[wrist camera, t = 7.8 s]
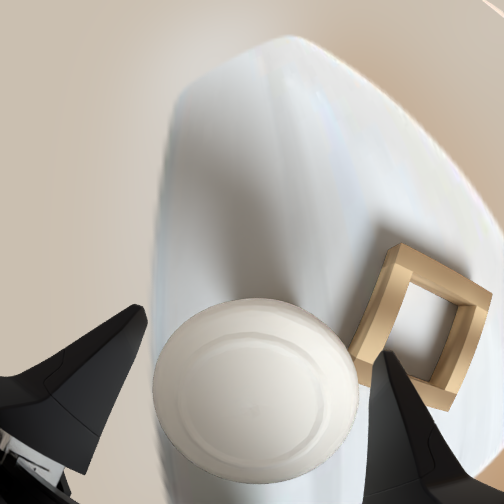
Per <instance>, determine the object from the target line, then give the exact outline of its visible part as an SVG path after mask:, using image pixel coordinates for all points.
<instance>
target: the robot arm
mask: <svg viewBox="0 0 504 504" xmlns="http://www.w3.org/2000/svg"><path fill="white" fill-rule="evenodd" d="M147 324H148V320H147V317H146V313H145V310H144V308H143V306H140V305H137V304H133V305H131V306H129V307H127V308H126V309H124V310H123V311H121V312H120V313H118V314H116V315H115V316H113V317H112V318H110V319H109V320H107V321H106V322H104V323H102V324H101V325H99V326H98V327H96V328H95V329H93V330H92V331H90V332H88V333H87V334H85V335H84V336H82V337H81V338H79V339H78V340H76V341H75V342H73V343H72V344H70V345H69V346H67V347H66V348H64V349H62V350H61V351H59V352H58V353H56V354H55V355H53V356H51V357H50V358H48V359H46V360H45V361H43V362H41V363H39V364H38V365H35V366H34V367H32V368H30V369H28V370H26V371H24V372H22V373H20V374H18V375H15V376H10V377H2V376H0V504H79V503H77V502H76V501H74V500H73V499H71V498H70V495H71V491H70V488H69V486H68V483H67V480H66V477H65V474H64V468H65V467H67V468H69V469H72V470H74V471H76V472H78V473H80V474H83V475H85V474H86V472H87V470H88V467H89V464H90V462H91V459H92V457H93V454H94V452H95V449H96V447H97V444H98V442H99V439H100V438H99V437H100V436H101V434H102V431H103V429H104V427H105V424H106V422H107V419H108V417H109V415H110V413H111V410H112V408H113V406H114V403H115V401H116V399H117V397H118V394H119V392H120V390H121V388H122V386H123V384H124V381H125V379H126V377H127V375H128V373H129V370H130V368H131V366H132V364H133V362H134V359H135V358H136V355H137V352H138V350H139V347H140V344H141V341H142V338H143V335H144V333H145V330H146V327H147ZM363 496H364V497H363V502H362V504H504V492H502V491H500V490H497V489H495V488H493V487H491V486H488V485H486V484H484V483H482V482H480V481H478V480H476V479H474V478H472V477H471V476H469V475H468V474H467V473H466V472H465V470H464V469H463V468H462V466H461V464H460V463H459V461H458V460H457V458H456V457H455V455H454V454H453V452H452V451H451V449H450V448H449V446H448V445H447V443H446V441H445V440H444V438H443V436H442V434H441V433H440V431H439V429H438V427H437V425H436V424H435V423H434V420H433V418H432V416H431V415H430V413H429V411H428V409H427V407H426V406H425V404H424V402H423V400H422V399H421V397H420V395H419V393H418V392H417V390H416V388H415V387H414V385H413V383H412V382H411V380H410V378H409V377H408V375H407V373H406V372H405V370H404V368H403V367H402V365H401V363H400V362H399V360H398V359H397V357H396V355H395V354H394V352H393V351H391V350H382V351H381V352H380V353H379V355H378V356H377V358H376V359H375V361H374V363H373V366H372V377H371V388H370V397H369V426H368V450H367V465H366V477H365V487H364V495H363Z"/></svg>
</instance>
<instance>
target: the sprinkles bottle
mask: <svg viewBox="0 0 504 504" xmlns="http://www.w3.org/2000/svg"><path fill="white" fill-rule="evenodd" d="M153 401H154V405H155V410H156V413H157V417H158V419H159V422H160V424H161V426H162V428H163V430H164V432H165V434H166V435H167V437H168V438H169V440H170V441H171V442H172V444H173V445H174V446H175V447H176V448H177V449H178V451H179V452H180V453H181V454H182V455H183V456H184V457H186V458H187V459H188V460H189V461H191V462H192V463H194V464H195V465H196V466H198V467H199V468H201V469H203V470H204V471H206V472H208V473H210V474H212V475H215V476H217V477H220V478H223V479H227V480H230V481H234V482H240V483H248V484H269V483H277V482H282V481H286V480H290V479H293V478H296V477H299V476H301V475H303V474H305V473H307V472H309V471H312V470H313V469H315V468H317V467H318V466H320V465H321V464H323V463H324V462H325V461H326V460H327V459H328V458H330V457H331V456H332V455H333V454H334V453H335V452H336V451H337V450H338V448H339V447H340V446H341V445H342V443H343V442H344V441H345V439H346V437H347V435H348V434H349V432H350V430H351V428H352V425H353V423H354V420H355V417H356V413H357V410H358V404H359V384H358V378H357V372H356V369H355V366H354V363H353V361H352V358H351V356H350V354H349V352H348V351H347V349H346V347H345V345H344V344H343V343H342V341H341V340H340V339H339V338H338V336H337V335H336V334H335V333H334V332H333V331H332V330H331V329H330V328H329V327H328V326H327V325H326V324H324V323H323V322H322V321H321V320H319V319H318V318H317V317H315V316H314V315H313V314H311V313H309V312H307V311H305V310H303V309H302V308H300V307H297V306H295V305H293V304H290V303H287V302H283V301H279V300H275V299H267V298H248V299H239V300H234V301H229V302H224V303H221V304H217V305H215V306H212V307H210V308H208V309H205V310H203V311H201V312H199V313H198V314H196V315H194V316H193V317H191V318H190V319H188V320H187V321H186V322H185V323H183V324H182V325H181V326H180V327H179V328H178V329H177V330H176V331H175V332H174V333H173V334H172V336H171V337H170V338H169V340H168V341H167V343H166V344H165V346H164V347H163V349H162V351H161V353H160V355H159V358H158V361H157V363H156V367H155V372H154V377H153Z"/></svg>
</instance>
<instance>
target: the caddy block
mask: <svg viewBox="0 0 504 504" xmlns="http://www.w3.org/2000/svg"><path fill="white" fill-rule="evenodd" d="M409 282H412V283H414V284H416V285H418V286H420V287H422V288H424V289H426V290H428V291H430V292H432V293H434V294H436V295H438V296H440V297H441V298H443V299H445V300H447V301H449V302H451V303H453V304H455V305H457V306H458V310H457V313H456V316H455V319H454V322H453V325H452V328H451V330H450V333H449V336H448V339H447V341H446V344H445V346H444V349H443V351H442V354H441V356H440V359H439V361H438V363H437V365H436V368H435V370H434V372H433V374H432V376H431V379H430V381H429V382H427V381H424V380H421V379H418V378H416V377H413V376H410V375H408V377H409V378H410V380H411V382H412V383H413V385H414V387H415V388H416V390H417V392H418V393H419V395H420V397H421V399H422V400H423V402H424V404H425V406H429V407H432V408H436V409H439V410H443V411H447V412H448V411H449V409H450V407H451V405H452V403H453V401H454V399H455V397H456V395H457V393H458V391H459V389H460V387H461V384H462V382H463V380H464V378H465V375H466V373H467V371H468V368H469V366H470V363H471V361H472V358H473V356H474V353H475V350H476V348H477V345H478V342H479V339H480V336H481V333H482V330H483V327H484V324H485V320H486V317H487V314H488V310H489V306H490V302H491V298H492V293H491V292H489V291H487V290H486V289H484V288H482V287H481V286H479V285H478V284H476V283H474V282H473V281H471V280H469V279H467V278H466V277H464V276H462V275H461V274H459V273H457V272H455V271H454V270H452V269H450V268H448V267H447V266H445V265H443V264H441V263H439V262H438V261H436V260H434V259H432V258H430V257H428V256H426V255H425V254H423V253H421V252H419V251H417V250H415V249H413V248H411V247H409V246H407V245H405V244H403V243H400V244H398V245H396V246H394V247H393V248H391V249H389V250H388V252H387V255H386V258H385V260H384V263H383V266H382V269H381V272H380V274H379V277H378V280H377V282H376V285H375V288H374V290H373V293H372V295H371V298H370V300H369V303H368V305H367V308H366V310H365V312H364V315H363V317H362V319H361V322H360V324H359V326H358V328H357V331H356V333H355V335H354V337H353V339H352V342H351V344H350V346H349V348H348V350H347V351H348V352H349V354H350V356H351V358H352V361H353V363H354V366H355V369H356V372H357V378H358V383H359V384H361V385H364V386H367V387H370V388H371V377H372V366H373V363H374V361H375V359H376V358H377V356H378V355H379V353H380V352H381V351H382V350H383V348H384V346H385V343H386V341H387V339H388V336H389V334H390V332H391V329H392V327H393V325H394V322H395V320H396V317H397V315H398V312H399V310H400V307H401V304H402V302H403V299H404V296H405V293H406V291H407V288H408V285H409Z"/></svg>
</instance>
